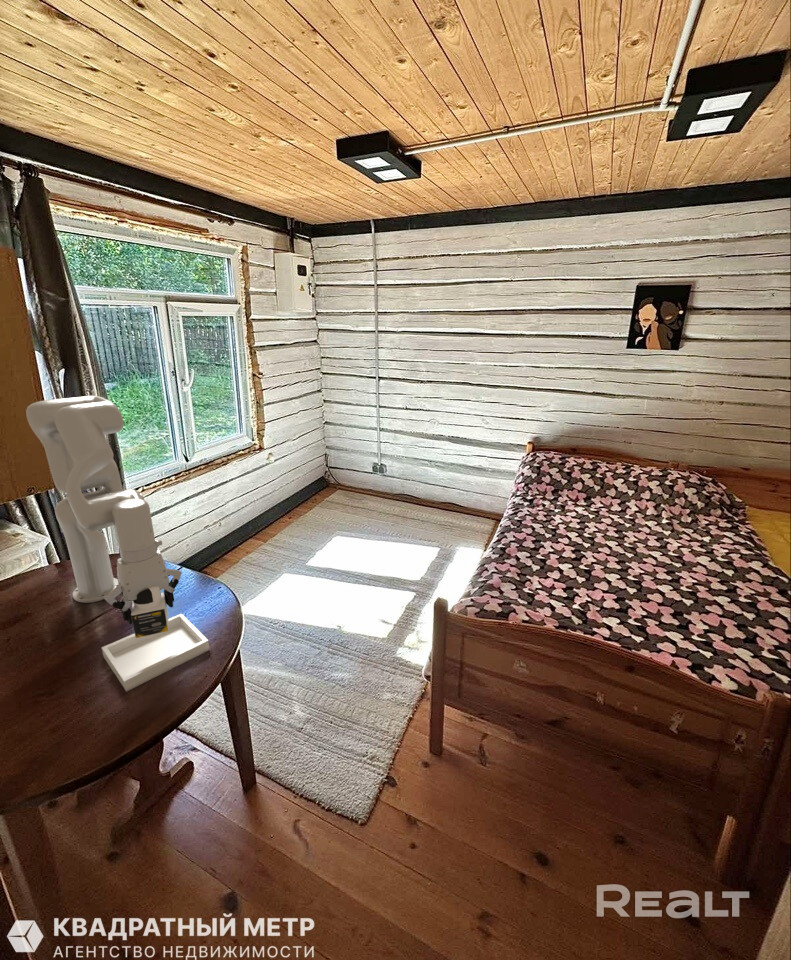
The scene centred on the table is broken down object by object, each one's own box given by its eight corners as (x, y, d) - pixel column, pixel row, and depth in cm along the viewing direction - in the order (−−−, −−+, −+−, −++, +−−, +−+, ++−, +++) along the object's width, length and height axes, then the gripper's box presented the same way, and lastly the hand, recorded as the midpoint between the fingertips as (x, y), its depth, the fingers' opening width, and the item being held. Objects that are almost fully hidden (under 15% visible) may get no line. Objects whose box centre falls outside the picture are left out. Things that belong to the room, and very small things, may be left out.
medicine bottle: (135, 639, 112) (127, 596, 108) (137, 622, 118) (129, 581, 114) (168, 632, 115) (161, 590, 111) (168, 615, 121) (161, 575, 117)
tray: (103, 657, 118) (101, 647, 117) (182, 622, 132) (181, 613, 131) (126, 691, 108) (124, 681, 107) (209, 649, 122) (208, 640, 121)
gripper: (169, 534, 118) (179, 592, 124) (91, 558, 106) (106, 621, 112) (182, 544, 113) (191, 604, 119) (102, 570, 101) (116, 636, 107)
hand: (150, 612), depth 116 cm, fingers closed on medicine bottle, 9 cm apart
